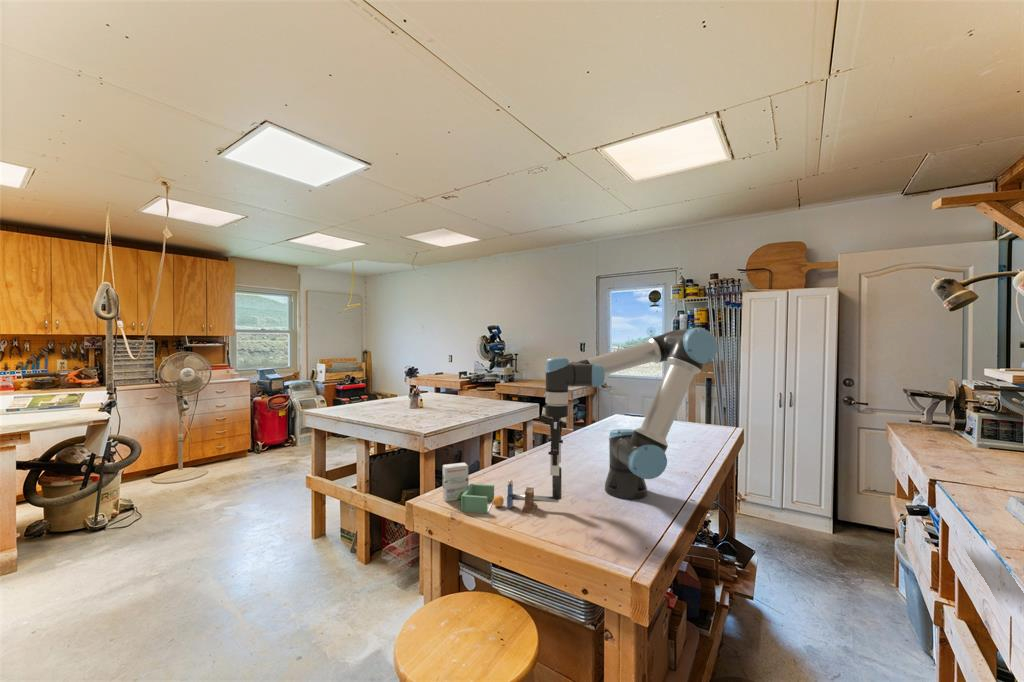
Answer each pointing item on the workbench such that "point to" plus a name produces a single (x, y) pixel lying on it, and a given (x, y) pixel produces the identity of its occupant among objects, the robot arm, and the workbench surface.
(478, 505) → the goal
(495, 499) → the ball
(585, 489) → the workbench surface
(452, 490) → the ink box
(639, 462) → the robot arm
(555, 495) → the u-shaped post frame
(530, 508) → the bearing block
